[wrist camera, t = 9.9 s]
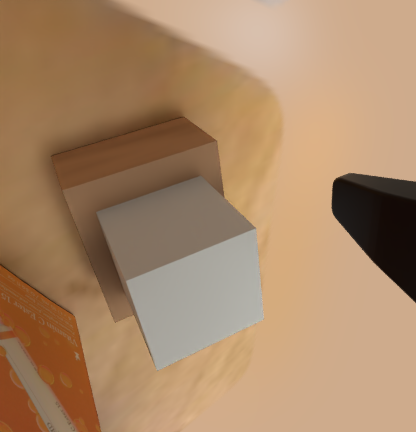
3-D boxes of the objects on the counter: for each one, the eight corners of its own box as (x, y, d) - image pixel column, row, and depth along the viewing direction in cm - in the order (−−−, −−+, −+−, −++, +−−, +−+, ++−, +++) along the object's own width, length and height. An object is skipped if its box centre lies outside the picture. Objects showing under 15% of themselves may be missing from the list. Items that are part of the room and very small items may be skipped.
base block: (204, 235, 25) (234, 271, 22) (98, 277, 24) (114, 322, 20) (183, 116, 21) (216, 140, 18) (50, 155, 19) (61, 190, 16)
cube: (214, 257, 21) (263, 319, 17) (125, 294, 20) (157, 371, 16) (200, 175, 18) (255, 228, 14) (95, 212, 17) (125, 281, 13)
